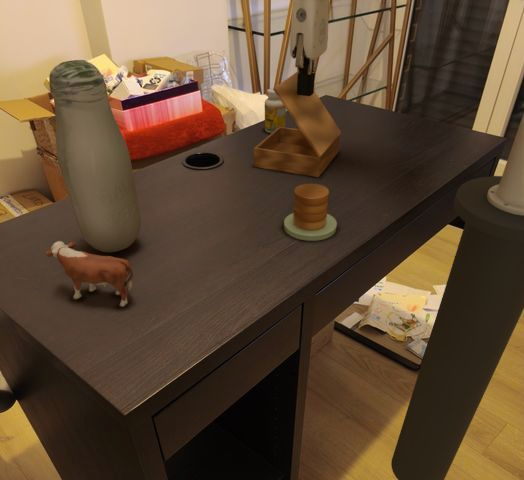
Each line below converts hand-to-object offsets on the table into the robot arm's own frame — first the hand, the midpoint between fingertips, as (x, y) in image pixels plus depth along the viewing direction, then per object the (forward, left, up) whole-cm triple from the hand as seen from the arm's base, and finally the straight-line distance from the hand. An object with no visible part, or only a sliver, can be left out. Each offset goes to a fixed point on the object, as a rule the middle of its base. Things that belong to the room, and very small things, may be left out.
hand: (305, 94), depth 101 cm
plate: (-12, +29, -14) cm, 34 cm away
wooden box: (+1, 0, -14) cm, 14 cm away
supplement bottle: (+13, -16, -14) cm, 25 cm away
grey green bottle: (+17, +48, -14) cm, 53 cm away
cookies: (-12, +29, -13) cm, 34 cm away
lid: (-1, 0, -4) cm, 4 cm away
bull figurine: (+11, +61, -14) cm, 64 cm away
